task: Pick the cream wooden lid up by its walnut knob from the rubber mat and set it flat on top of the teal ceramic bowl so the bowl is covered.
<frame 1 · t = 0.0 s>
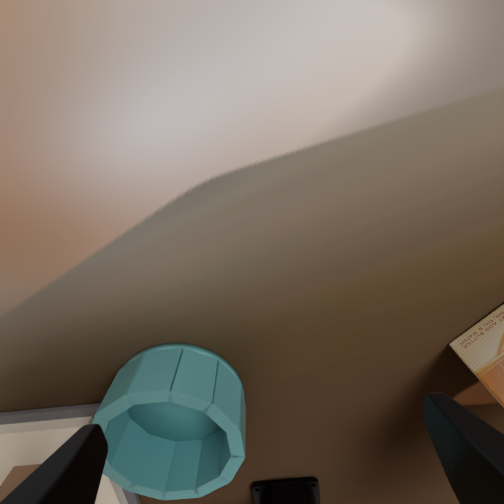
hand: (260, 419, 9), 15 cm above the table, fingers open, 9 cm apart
bowl: (180, 395, 28), on the table
mat: (51, 464, 31), on the table
lid: (49, 468, 31), resting on mat
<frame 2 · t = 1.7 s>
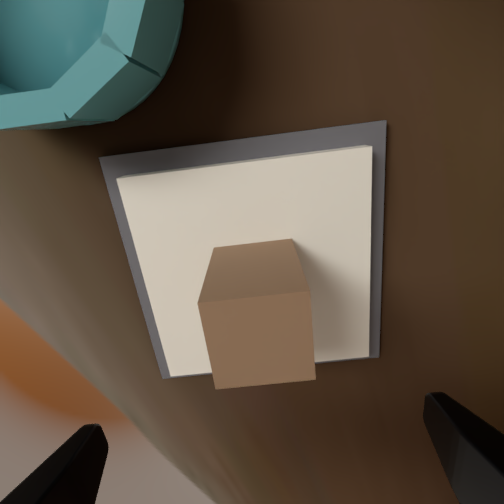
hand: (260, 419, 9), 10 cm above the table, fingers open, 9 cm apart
mat: (256, 267, 18), on the table
lid: (256, 270, 18), resting on mat
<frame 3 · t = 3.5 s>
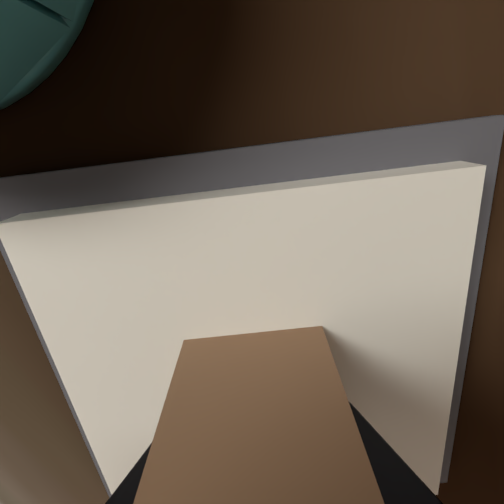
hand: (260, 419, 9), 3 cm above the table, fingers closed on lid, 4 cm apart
mat: (258, 356, 11), on the table
lid: (259, 363, 11), resting on mat, touching gripper
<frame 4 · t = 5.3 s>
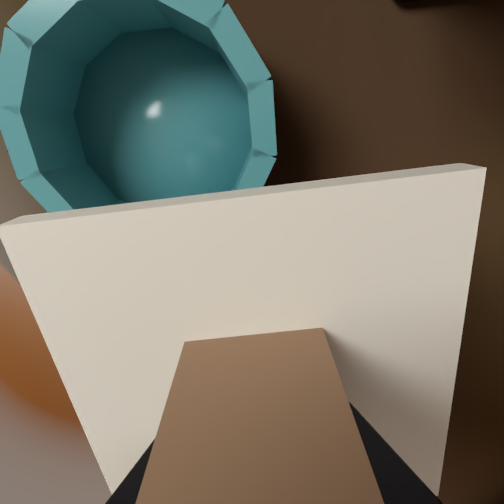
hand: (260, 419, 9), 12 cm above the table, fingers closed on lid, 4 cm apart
bowl: (167, 130, 18), on the table
lid: (259, 365, 11), point 10 cm above the table, touching gripper
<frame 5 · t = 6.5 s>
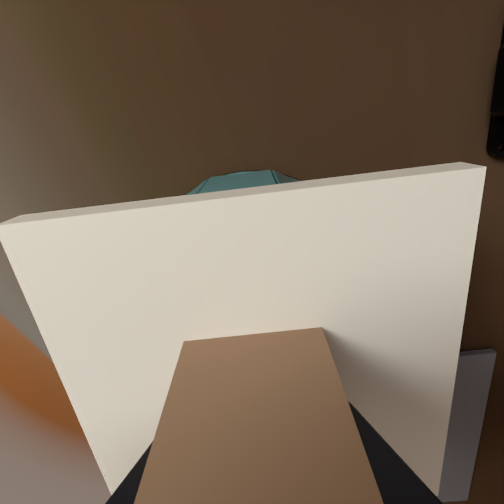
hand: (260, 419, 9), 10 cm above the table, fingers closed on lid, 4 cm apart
bowl: (253, 271, 18), on the table
mat: (375, 439, 23), on the table
lid: (259, 365, 11), point 7 cm above the table, touching gripper
when the fingers open (8 cm above the table, at t = 7.5 s): lid drops 1 cm, resting on bowl.
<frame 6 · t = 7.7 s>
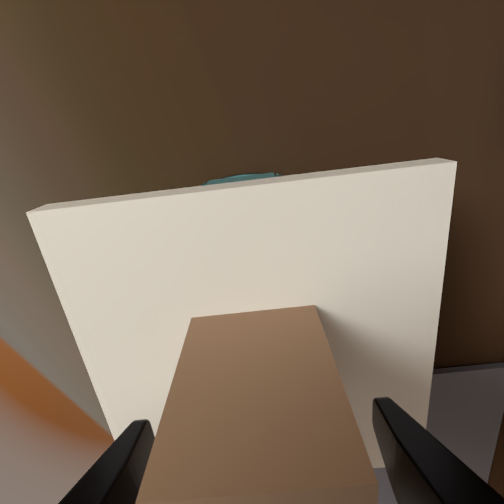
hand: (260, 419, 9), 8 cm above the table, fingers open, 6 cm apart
bowl: (255, 281, 17), on the table
mat: (383, 455, 22), on the table
lid: (258, 342, 12), point 5 cm above the table, touching bowl
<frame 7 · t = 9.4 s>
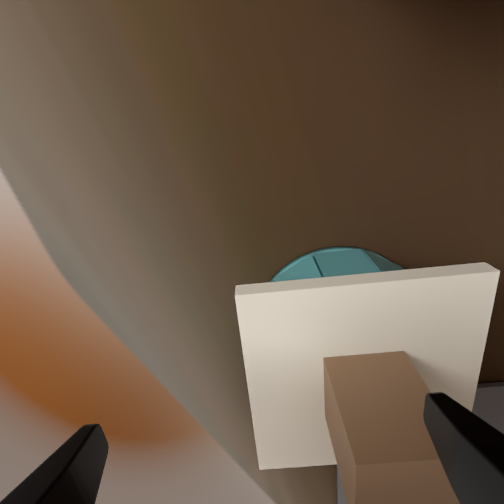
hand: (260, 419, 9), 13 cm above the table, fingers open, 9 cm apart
bowl: (334, 319, 22), on the table
mat: (419, 451, 27), on the table
lid: (356, 371, 18), point 5 cm above the table, touching bowl
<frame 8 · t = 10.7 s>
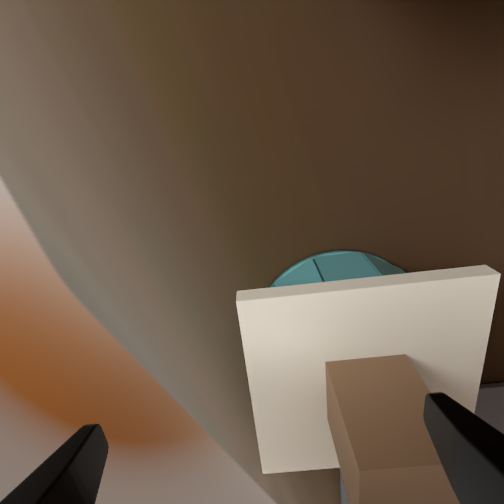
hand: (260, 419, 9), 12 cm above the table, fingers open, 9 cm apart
bowl: (335, 322, 22), on the table
mat: (422, 452, 27), on the table
lid: (358, 374, 18), point 5 cm above the table, touching bowl
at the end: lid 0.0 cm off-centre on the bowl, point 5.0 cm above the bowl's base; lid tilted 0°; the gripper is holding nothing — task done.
